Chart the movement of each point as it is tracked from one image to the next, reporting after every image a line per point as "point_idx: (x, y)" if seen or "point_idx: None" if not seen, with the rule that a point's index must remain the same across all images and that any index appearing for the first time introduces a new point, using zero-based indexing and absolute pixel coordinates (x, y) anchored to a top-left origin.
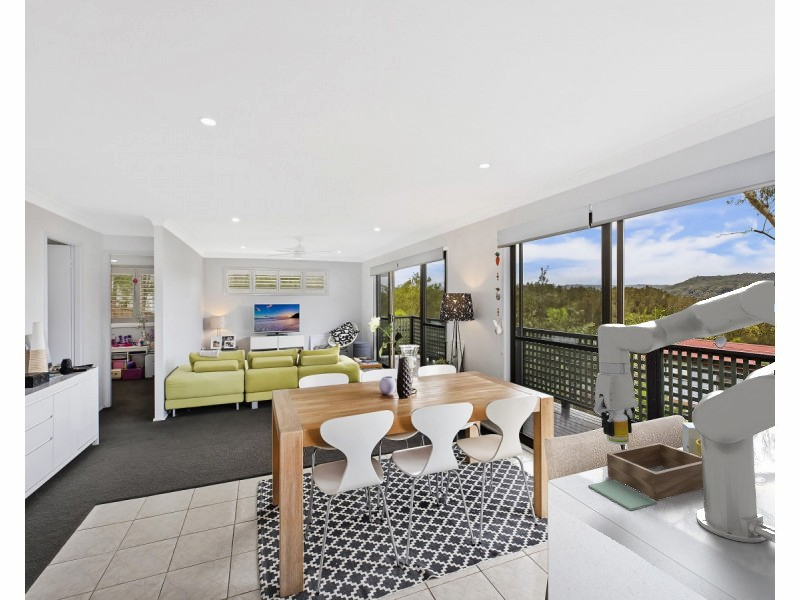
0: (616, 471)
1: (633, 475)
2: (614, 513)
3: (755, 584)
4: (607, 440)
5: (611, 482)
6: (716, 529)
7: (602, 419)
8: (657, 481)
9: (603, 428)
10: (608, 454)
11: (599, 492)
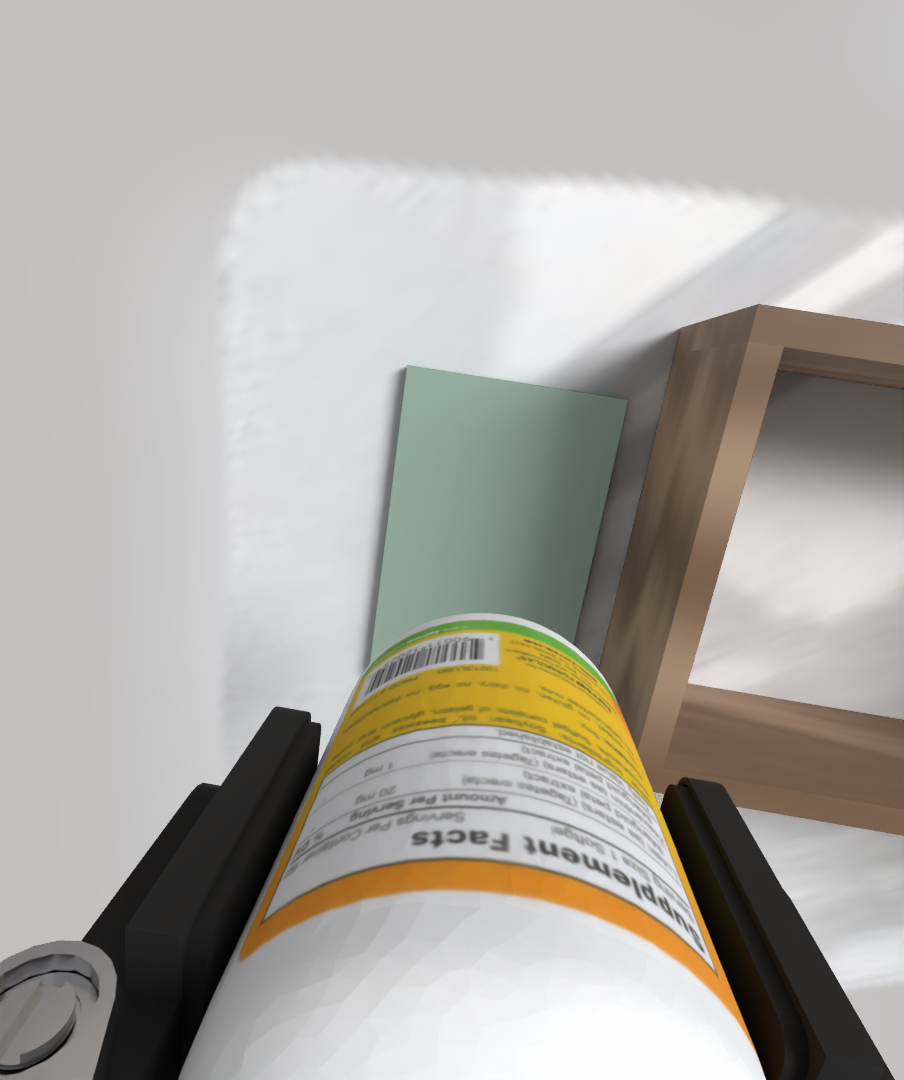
0: (682, 414)
1: (652, 573)
2: (273, 640)
3: None
4: (370, 663)
5: (578, 426)
6: None
7: (21, 991)
8: None
9: (242, 757)
10: (749, 328)
11: (396, 461)
